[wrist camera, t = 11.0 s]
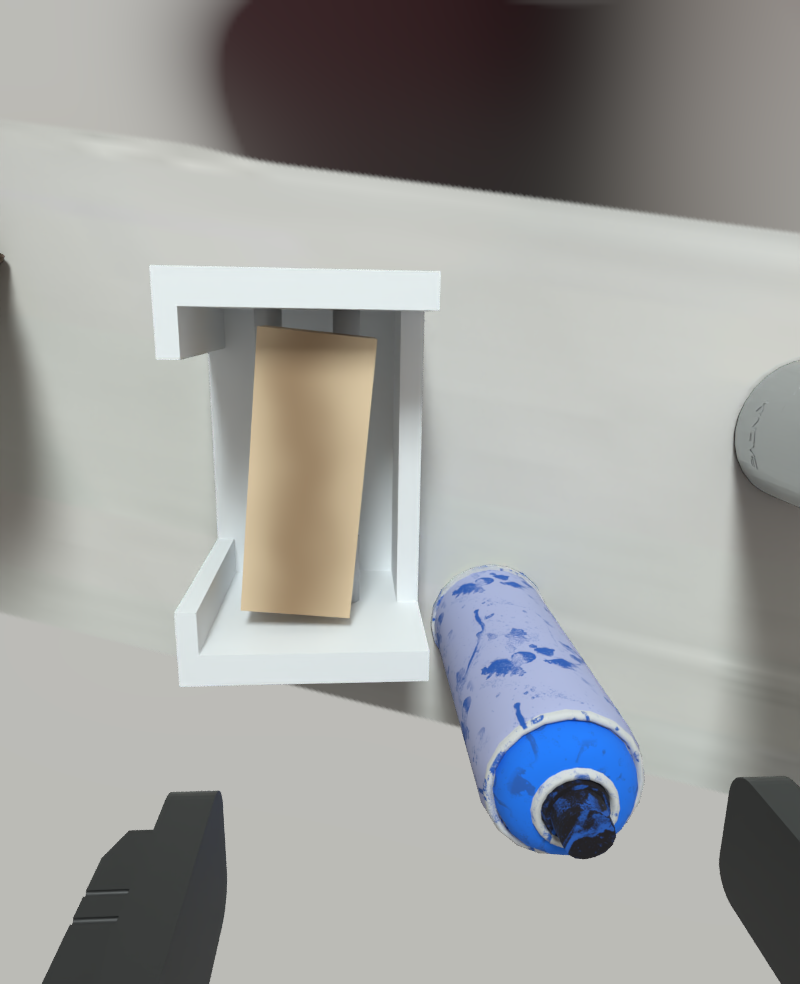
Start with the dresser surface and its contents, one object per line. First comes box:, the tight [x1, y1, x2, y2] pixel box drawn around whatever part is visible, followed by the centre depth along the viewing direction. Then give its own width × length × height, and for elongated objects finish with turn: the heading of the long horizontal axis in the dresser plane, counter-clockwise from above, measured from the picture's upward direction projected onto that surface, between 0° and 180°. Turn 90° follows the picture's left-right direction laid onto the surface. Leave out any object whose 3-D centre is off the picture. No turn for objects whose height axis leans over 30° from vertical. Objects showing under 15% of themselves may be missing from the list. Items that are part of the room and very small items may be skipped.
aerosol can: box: [431, 565, 645, 859], centre depth 37 cm, size 8×8×20 cm
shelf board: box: [241, 325, 377, 618], centre depth 35 cm, size 6×14×4 cm, turn 174°
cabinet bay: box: [149, 265, 441, 687], centre depth 37 cm, size 12×19×12 cm, turn 179°
